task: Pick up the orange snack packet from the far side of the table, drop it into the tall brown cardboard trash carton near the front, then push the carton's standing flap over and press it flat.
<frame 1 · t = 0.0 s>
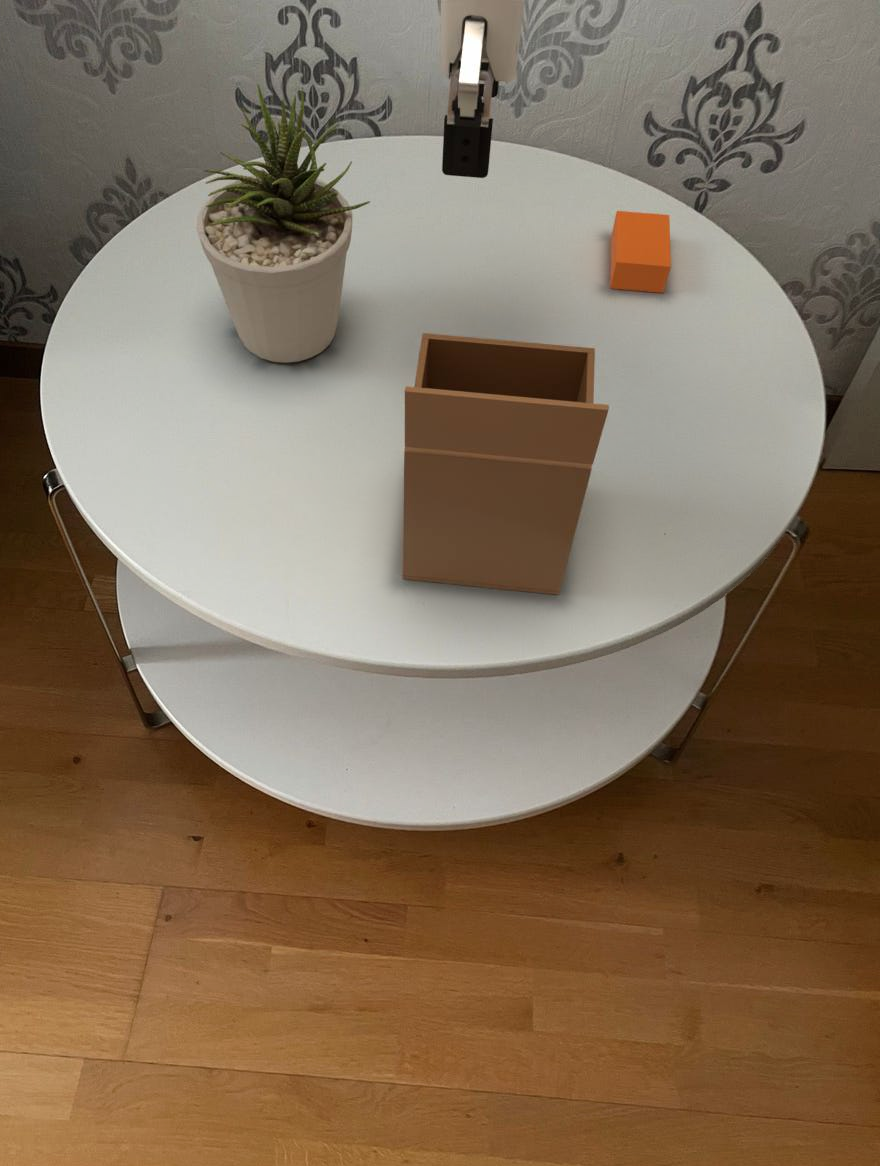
hand: (470, 132, 71), 20 cm above the table, tool pointing down, fingers open, 9 cm apart
carton: (485, 529, 78), on the table
carton flap: (502, 426, 60), point 18 cm above the table, hinge at 95.0°
packet: (636, 264, 94), on the table
potted plant: (294, 331, 89), on the table
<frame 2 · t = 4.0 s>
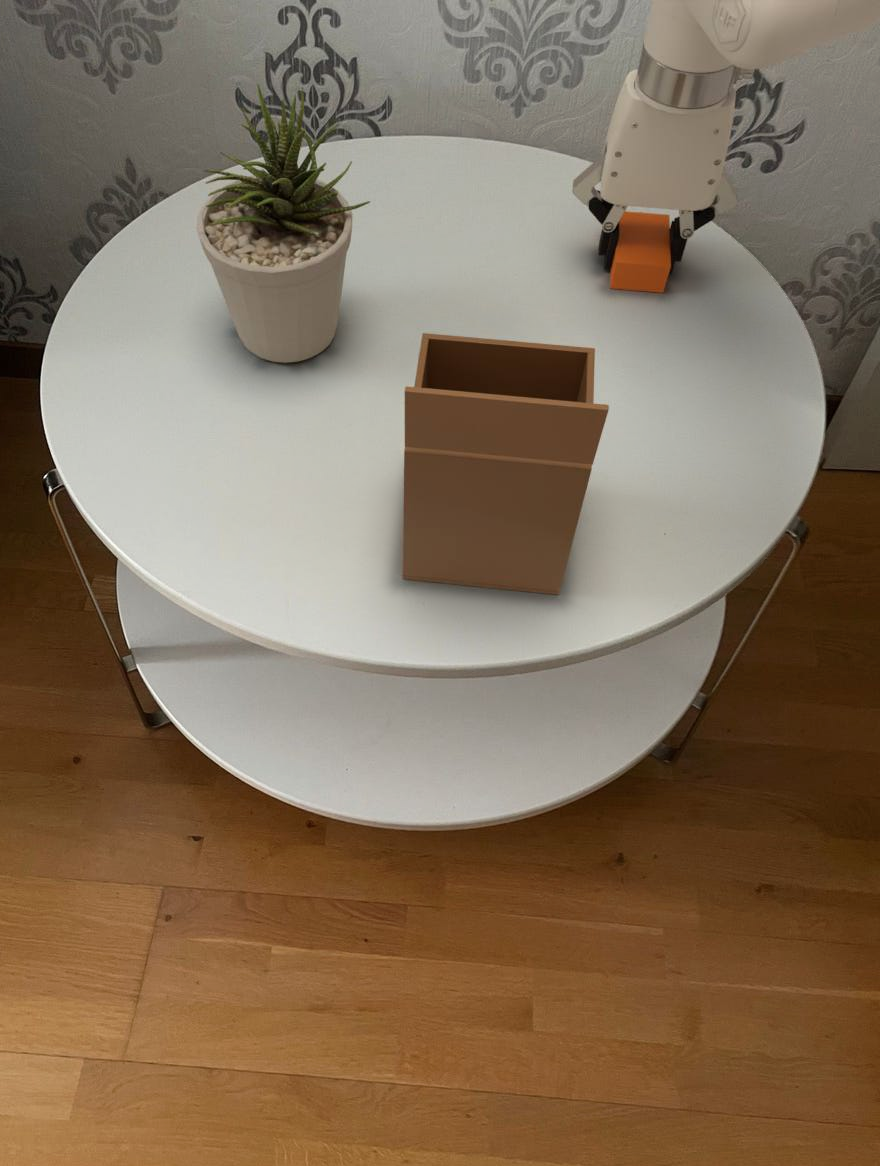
hand: (637, 260, 94), 0 cm above the table, tool pointing down, fingers closed on packet, 5 cm apart
packet: (636, 264, 94), on the table, touching gripper
everything else where it was.
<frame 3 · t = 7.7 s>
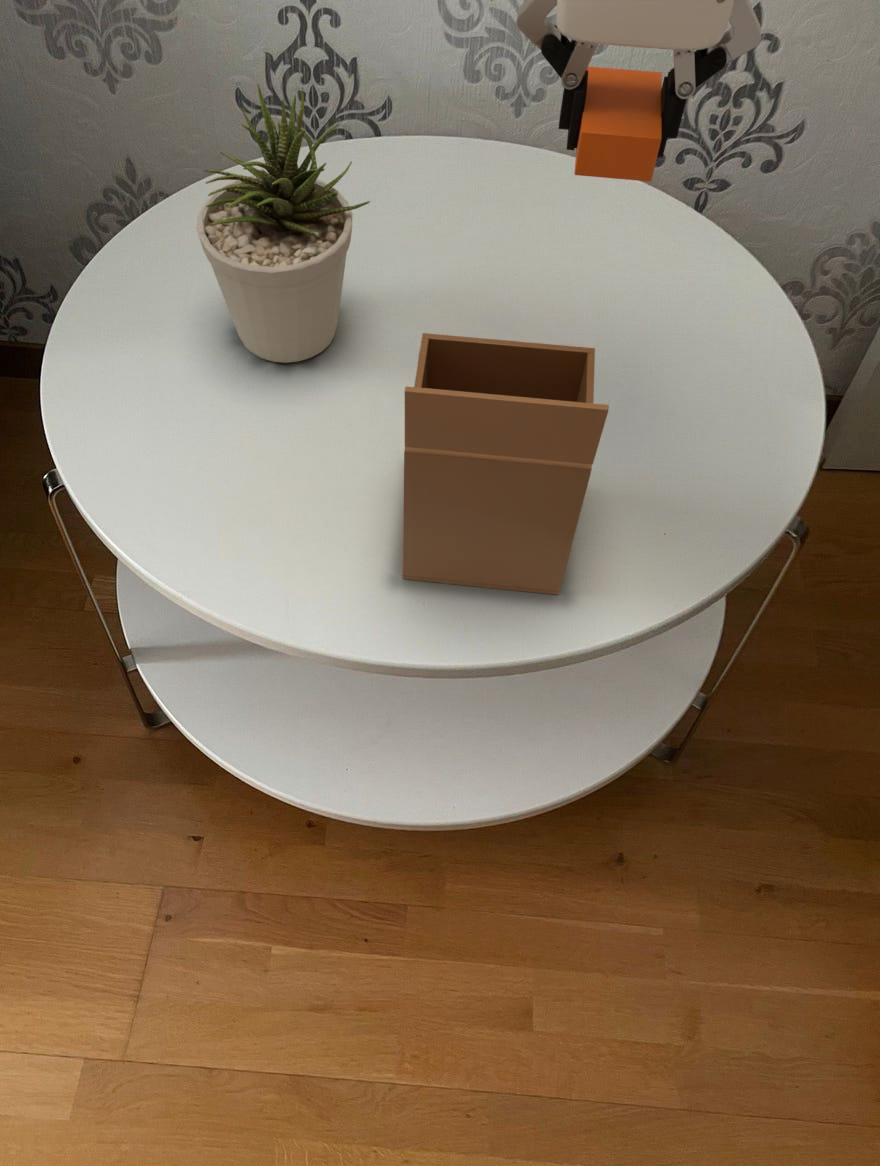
hand: (615, 139, 66), 23 cm above the table, tool pointing down, fingers closed on packet, 5 cm apart
packet: (614, 144, 66), point 23 cm above the table, touching gripper
everything else where it was.
when the fingers open (13 cm above the table, at t = 11.7 s): packet drops 12 cm, resting on carton.
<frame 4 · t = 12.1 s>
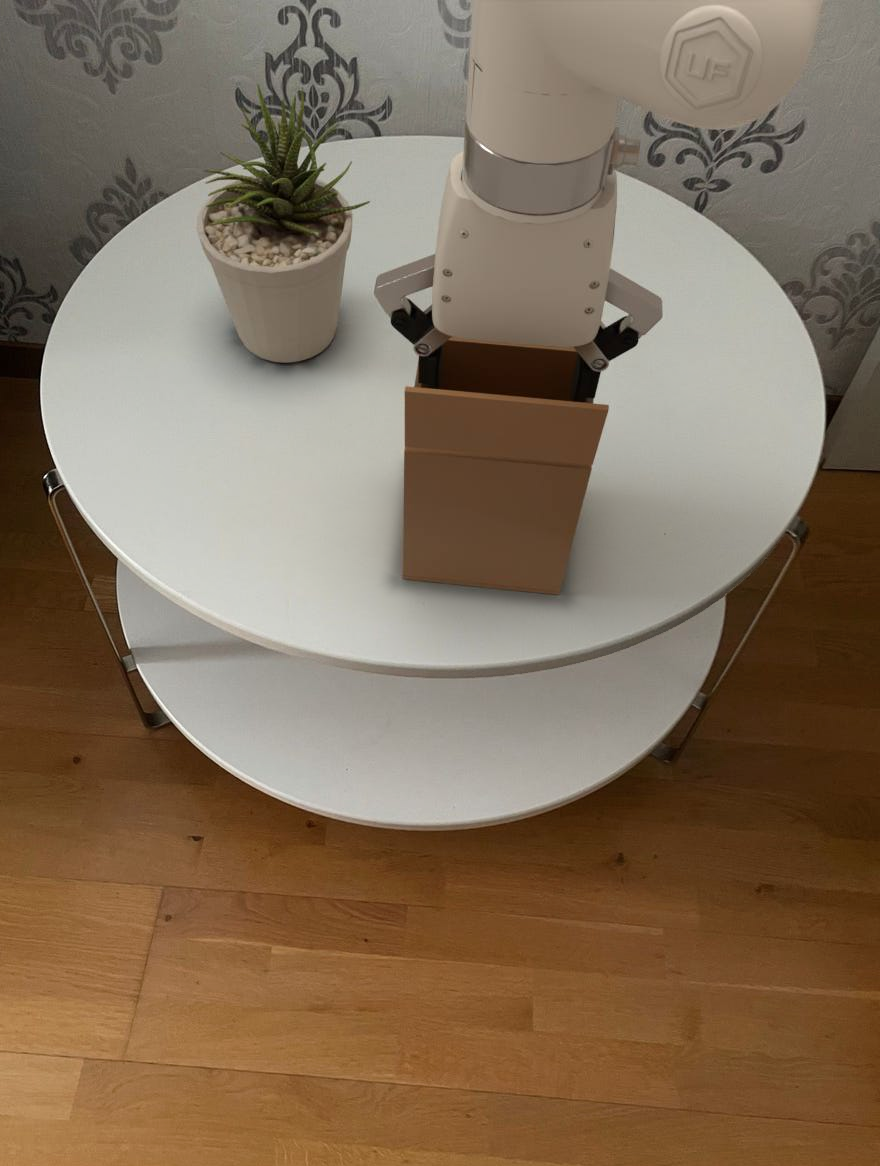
hand: (505, 394, 66), 14 cm above the table, tool pointing down, fingers open, 9 cm apart
packet: (486, 520, 78), resting on carton
everything else where it was.
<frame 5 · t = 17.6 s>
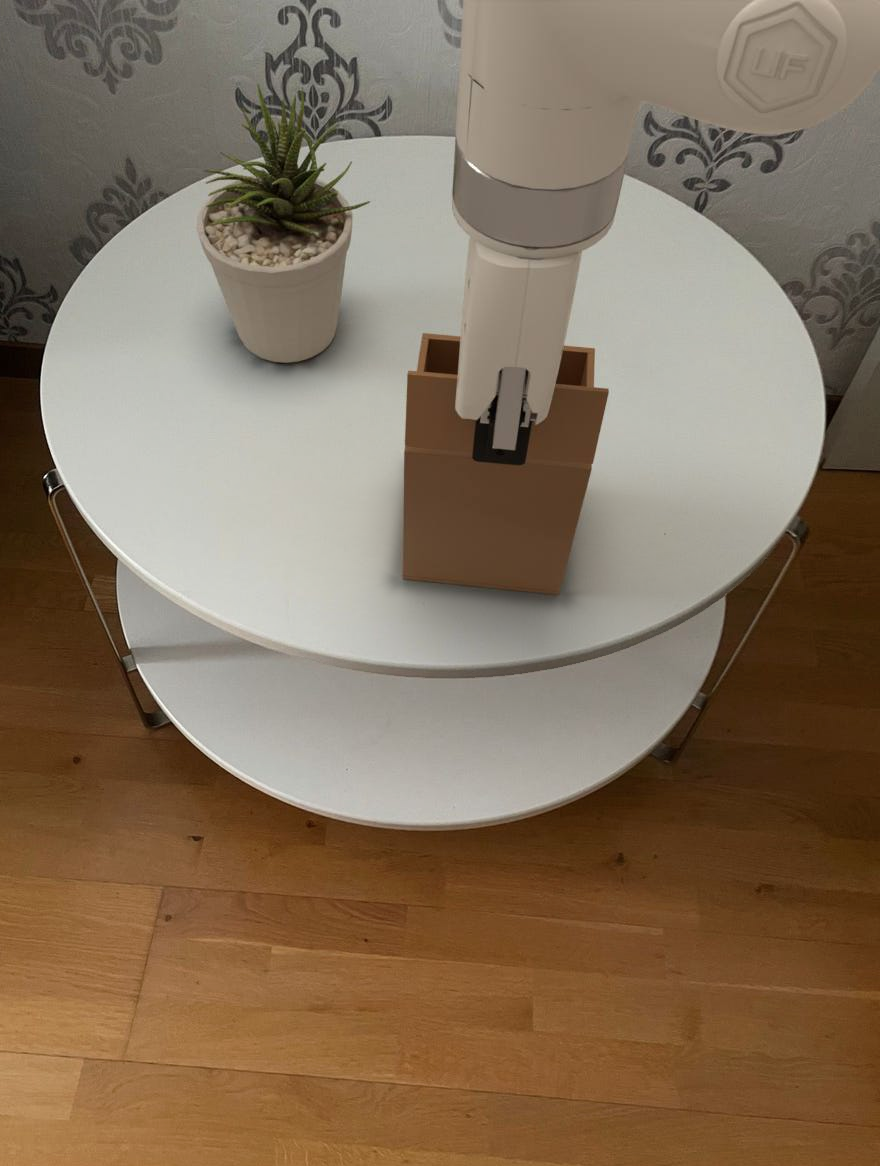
hand: (499, 453, 59), 17 cm above the table, tool pointing down, fingers closed
carton flap: (502, 418, 60), point 18 cm above the table, hinge at 79.7°, touching gripper
everything else where it was.
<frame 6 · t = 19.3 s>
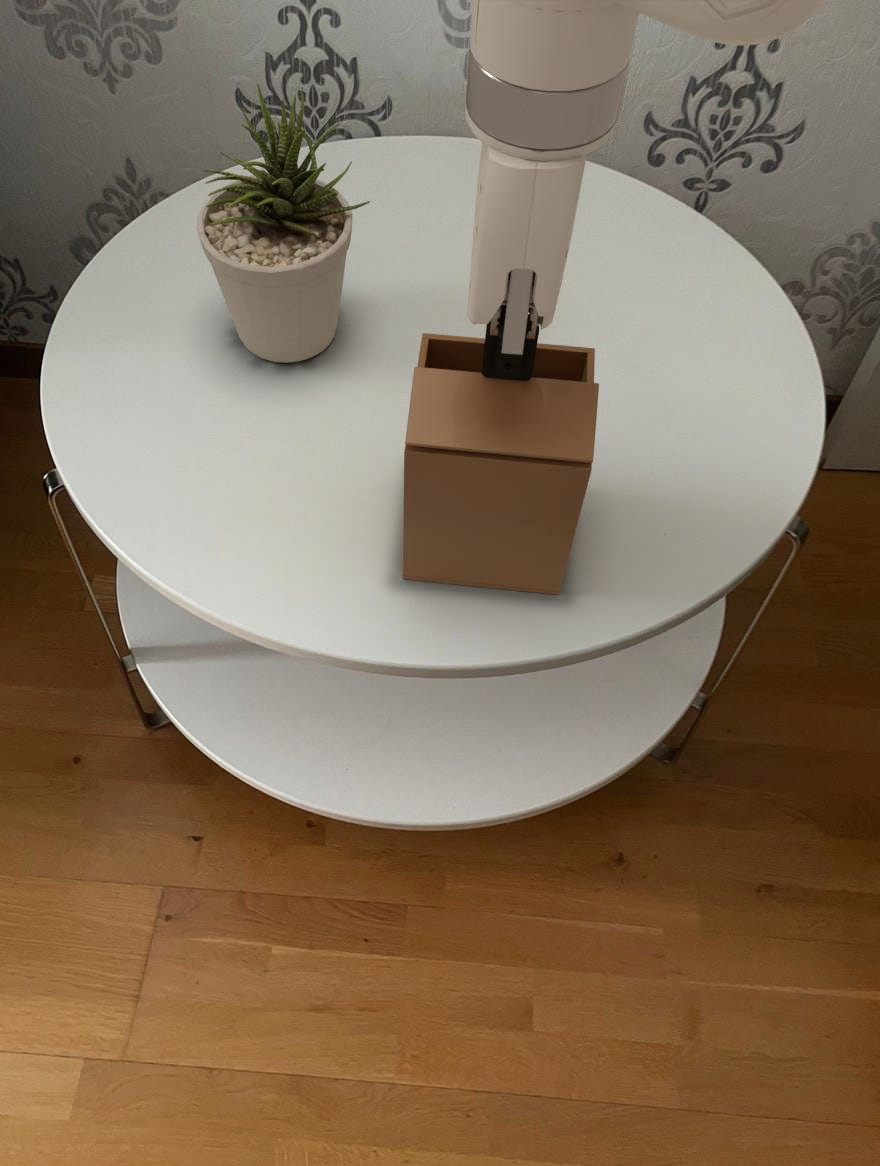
hand: (506, 369, 63), 17 cm above the table, tool pointing down, fingers closed
carton flap: (502, 414, 63), point 16 cm above the table, hinge at 17.9°, touching gripper
everything else where it was.
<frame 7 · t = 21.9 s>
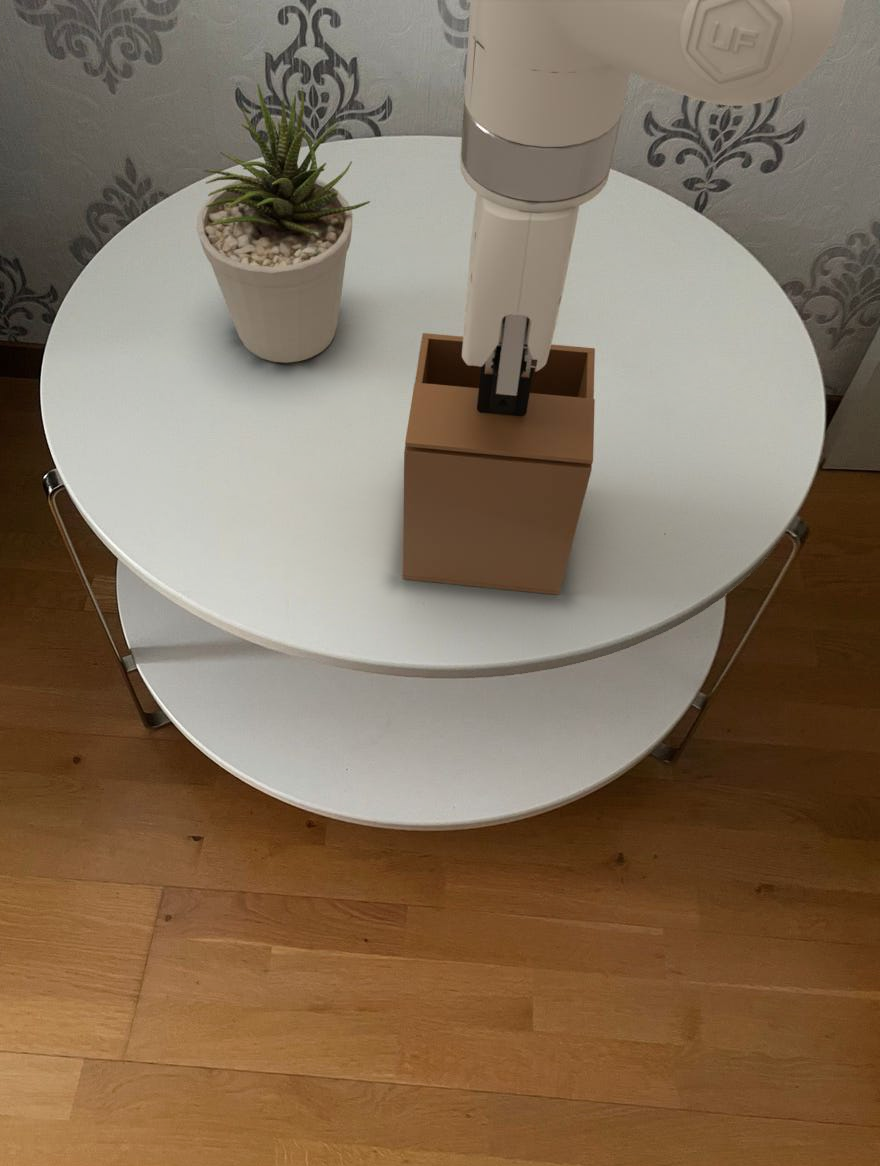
hand: (501, 405, 64), 15 cm above the table, tool pointing down, fingers closed
carton flap: (501, 422, 63), point 15 cm above the table, hinge at -0.4°, touching gripper
everything else where it was.
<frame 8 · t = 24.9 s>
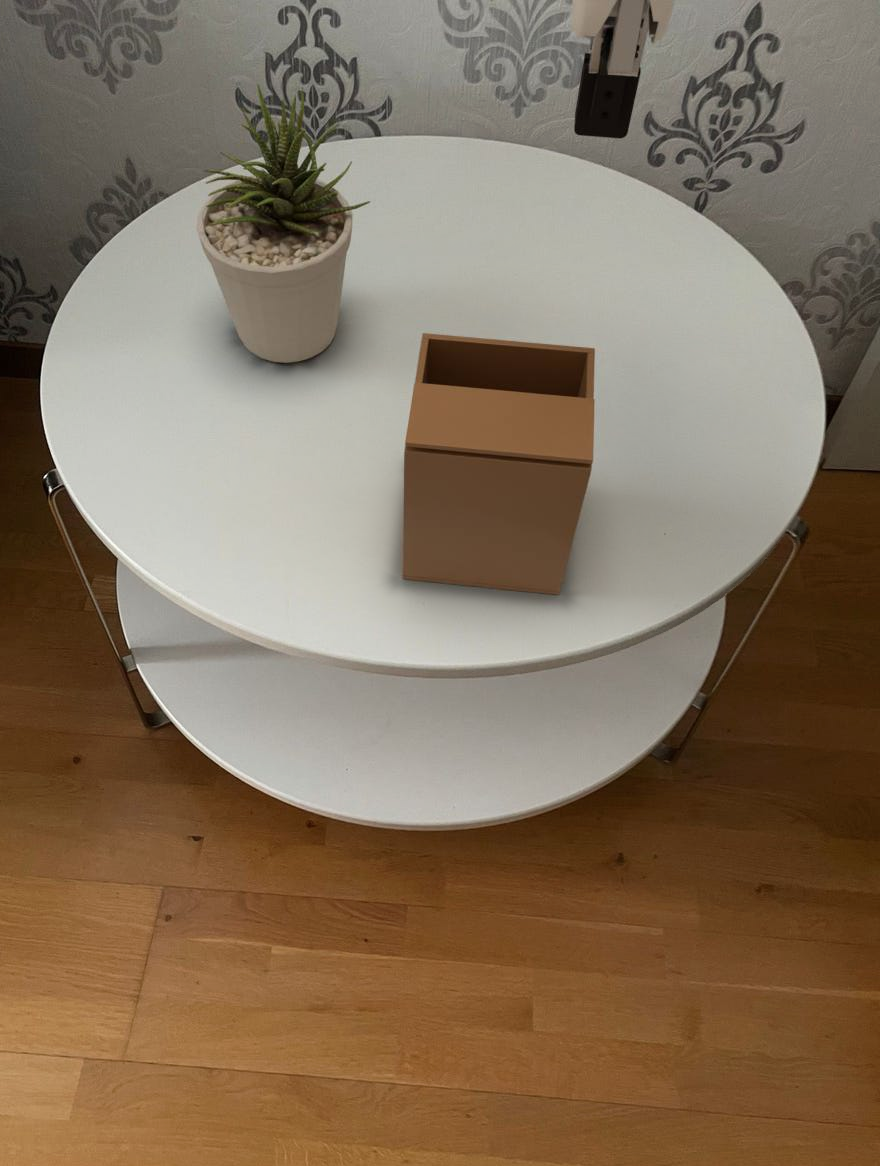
hand: (600, 128, 60), 27 cm above the table, tool pointing down, fingers closed
carton flap: (501, 422, 63), point 15 cm above the table, hinge at -0.5°
everything else where it was.
at the end: packet inside the target area in the carton (0.5 cm from its centre), point 0.5 cm above the carton's base; carton flap at +0° (first picture: +95°) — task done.
